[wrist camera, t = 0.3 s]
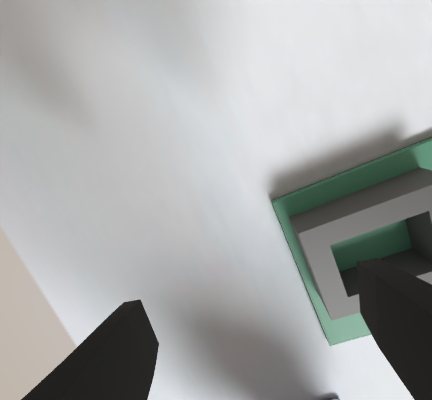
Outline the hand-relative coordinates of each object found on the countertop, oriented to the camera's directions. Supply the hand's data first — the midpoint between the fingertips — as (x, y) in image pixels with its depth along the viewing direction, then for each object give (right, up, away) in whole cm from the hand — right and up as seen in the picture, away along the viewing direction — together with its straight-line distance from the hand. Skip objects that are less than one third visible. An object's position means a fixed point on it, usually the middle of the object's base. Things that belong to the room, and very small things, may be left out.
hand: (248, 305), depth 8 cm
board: (+13, 0, +10) cm, 16 cm away
